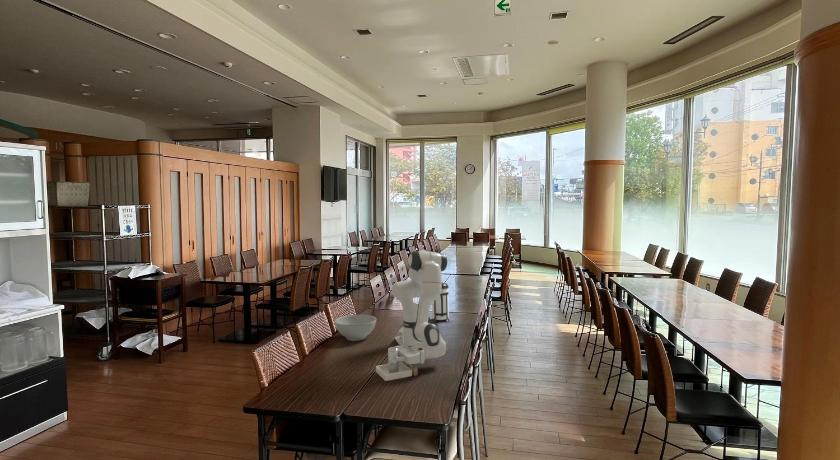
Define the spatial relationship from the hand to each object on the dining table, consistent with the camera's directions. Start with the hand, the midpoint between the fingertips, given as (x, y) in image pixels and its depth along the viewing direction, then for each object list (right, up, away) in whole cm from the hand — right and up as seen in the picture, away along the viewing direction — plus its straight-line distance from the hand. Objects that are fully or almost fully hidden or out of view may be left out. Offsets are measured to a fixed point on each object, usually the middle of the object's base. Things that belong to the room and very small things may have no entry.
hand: (391, 356), depth 232 cm
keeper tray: (+1, -9, +1) cm, 9 cm away
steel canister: (+1, -8, +1) cm, 8 cm away
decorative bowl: (-27, -6, +66) cm, 72 cm away
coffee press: (+30, -3, +105) cm, 110 cm away
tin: (+14, -4, +92) cm, 94 cm away
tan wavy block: (+9, -9, +5) cm, 13 cm away
